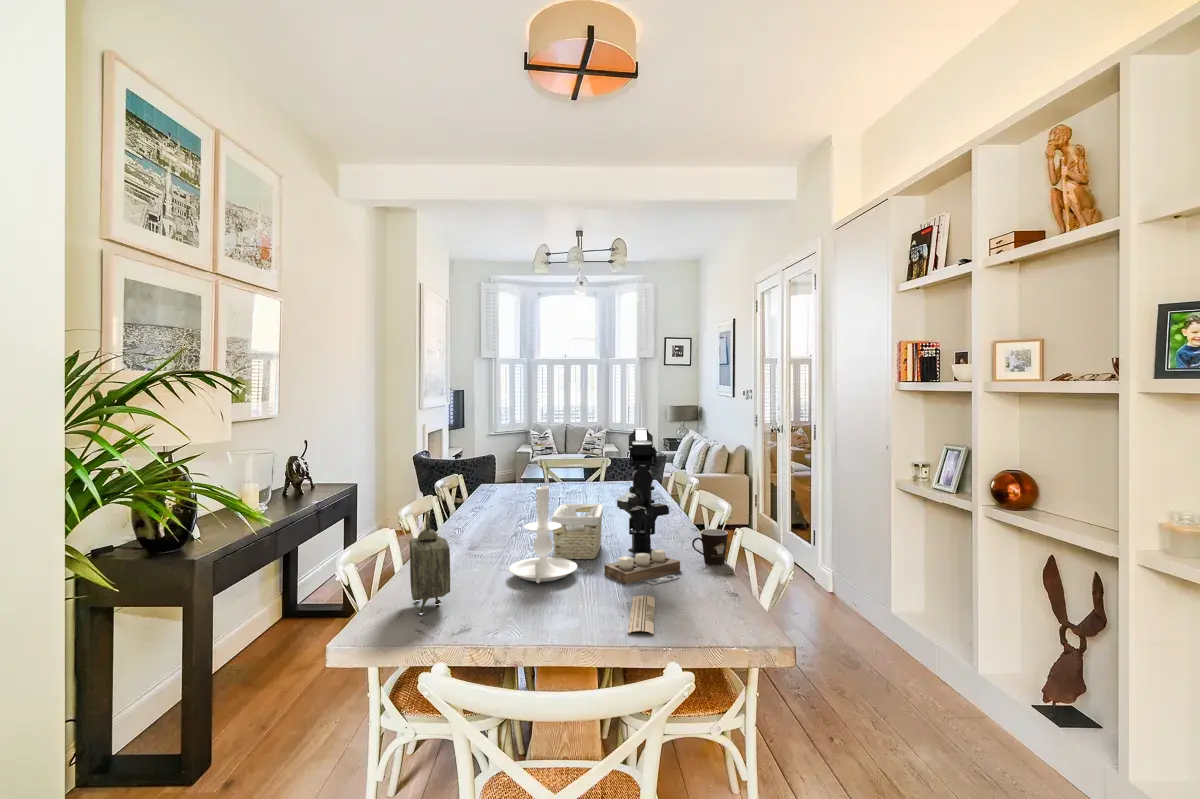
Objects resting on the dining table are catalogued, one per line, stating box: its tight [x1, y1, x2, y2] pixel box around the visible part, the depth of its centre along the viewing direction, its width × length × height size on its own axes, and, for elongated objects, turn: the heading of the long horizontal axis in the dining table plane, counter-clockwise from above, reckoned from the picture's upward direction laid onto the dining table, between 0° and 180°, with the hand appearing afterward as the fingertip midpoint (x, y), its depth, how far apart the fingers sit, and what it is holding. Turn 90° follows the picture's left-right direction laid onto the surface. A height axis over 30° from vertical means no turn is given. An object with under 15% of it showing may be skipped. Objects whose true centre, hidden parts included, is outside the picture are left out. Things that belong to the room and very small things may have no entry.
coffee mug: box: [691, 528, 729, 567], centre depth 196 cm, size 12×9×10 cm
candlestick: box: [508, 485, 578, 584], centre depth 180 cm, size 21×25×28 cm
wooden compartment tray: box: [604, 553, 681, 585], centre depth 186 cm, size 11×21×3 cm, turn 125°
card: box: [644, 574, 680, 586], centre depth 179 cm, size 4×10×1 cm, turn 125°
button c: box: [651, 549, 667, 563], centre depth 190 cm, size 4×4×3 cm
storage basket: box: [551, 503, 604, 560], centre depth 211 cm, size 24×16×15 cm
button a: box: [618, 556, 633, 571], centre depth 182 cm, size 4×4×3 cm
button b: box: [634, 553, 651, 567], centre depth 186 cm, size 4×4×3 cm
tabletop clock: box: [409, 511, 451, 614], centre depth 158 cm, size 14×9×25 cm, turn 21°
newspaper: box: [627, 594, 656, 636], centre depth 151 cm, size 24×7×2 cm, turn 174°
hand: (642, 533), depth 186 cm, fingers open, 4 cm apart
